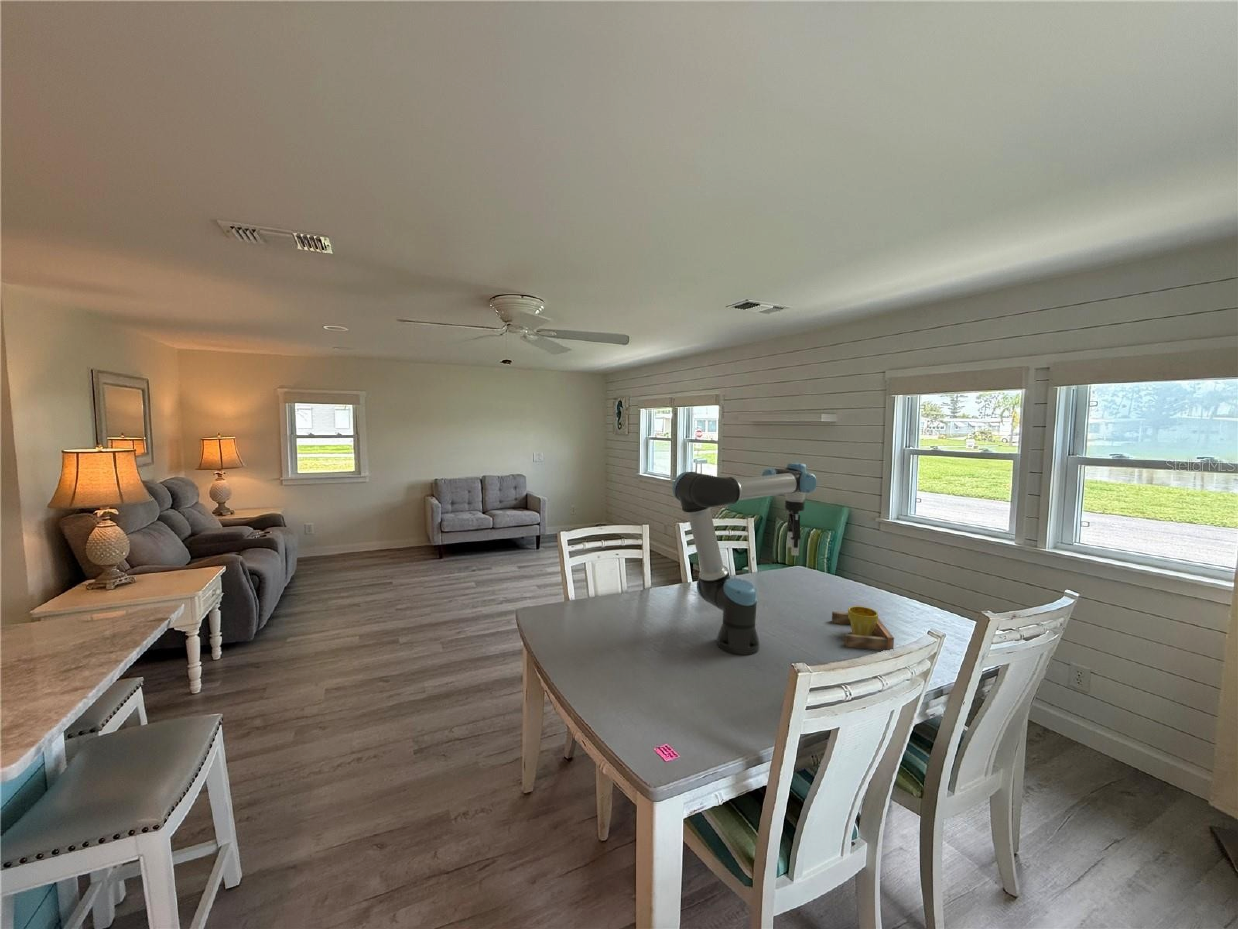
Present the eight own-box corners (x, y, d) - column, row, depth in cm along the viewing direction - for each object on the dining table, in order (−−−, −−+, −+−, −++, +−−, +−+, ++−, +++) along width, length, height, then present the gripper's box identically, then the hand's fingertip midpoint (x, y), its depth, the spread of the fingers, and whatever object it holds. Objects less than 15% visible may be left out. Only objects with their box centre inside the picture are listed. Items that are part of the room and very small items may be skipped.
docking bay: (845, 646, 181) (846, 633, 181) (831, 620, 205) (832, 609, 204) (893, 651, 178) (894, 638, 178) (873, 624, 201) (874, 612, 201)
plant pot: (858, 642, 185) (860, 617, 184) (841, 630, 195) (842, 606, 194) (882, 640, 187) (884, 615, 186) (864, 628, 197) (865, 605, 196)
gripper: (809, 505, 190) (807, 559, 192) (799, 496, 214) (797, 544, 216) (789, 504, 191) (786, 558, 193) (781, 495, 216) (779, 543, 218)
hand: (792, 551), depth 205 cm, fingers open, 13 cm apart
